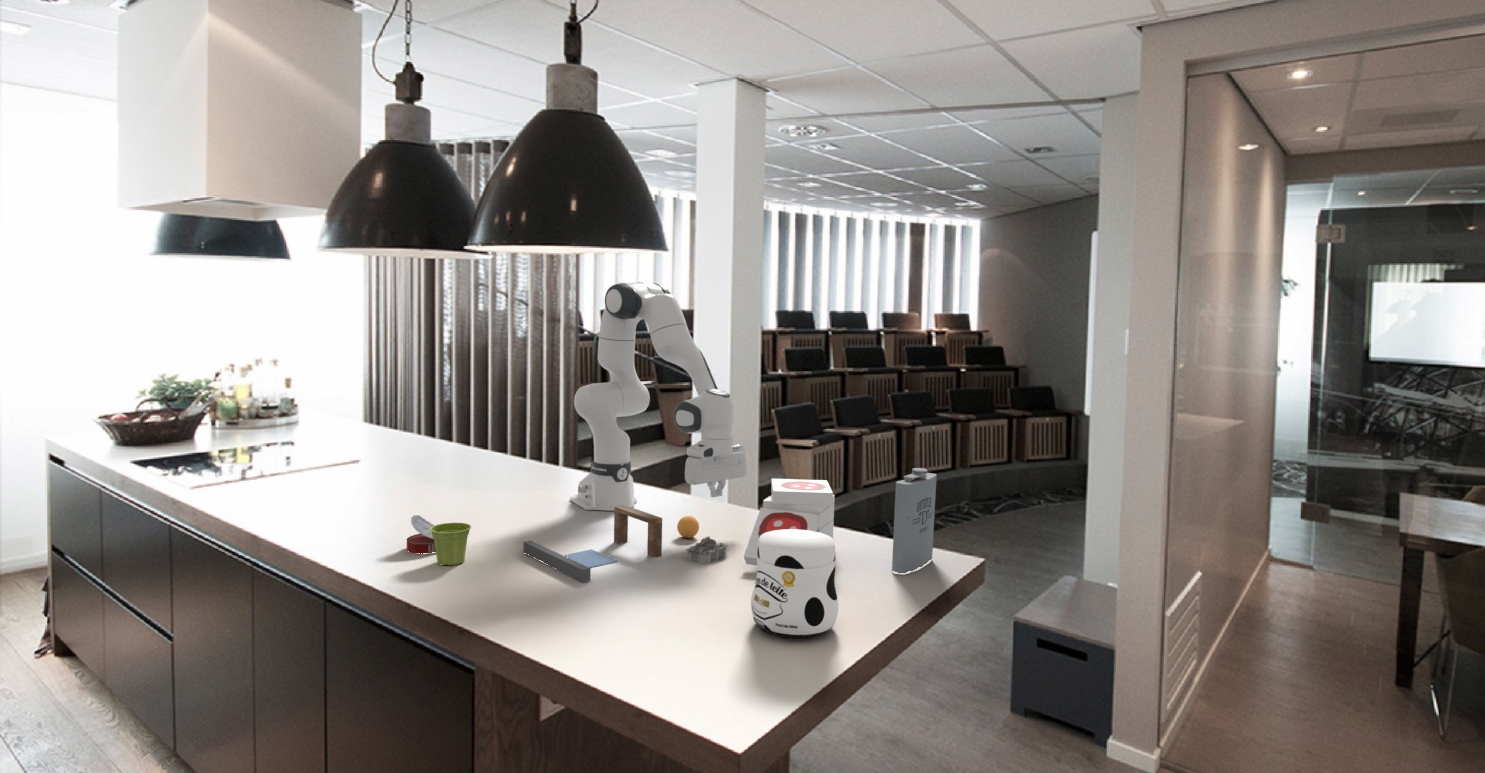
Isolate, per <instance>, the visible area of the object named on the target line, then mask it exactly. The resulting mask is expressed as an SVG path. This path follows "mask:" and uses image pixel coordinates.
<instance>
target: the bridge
mask: <svg viewBox="0 0 1485 773" xmlns="http://www.w3.org/2000/svg"><path fill="white" fill-rule="evenodd" d="M613 511H614V512H613V523H614V524H613V527H614V528H613V542H614V543H616V544H624V543H628V540H629V538H628V536H629V533H628V532H629V530H628V529H629V528H628V527H629V517H630V518H633V519H636V520H637V521H642V522H645V523H647V544H646V546H647V552H646V554H647V555H646V556H647V557H649V558H655V557H661V556H662V554H663V552H662V550H663V549H662V547H663V543H662V542H663V517H660V516H657V515H655V514H652V513H649V512H646V511H643V510H640V509H636V508H634V507H629V506H626V505H620V506H614V510H613Z"/></svg>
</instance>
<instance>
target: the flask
mask: <svg viewBox="0 0 1485 773" xmlns="http://www.w3.org/2000/svg"><path fill="white" fill-rule="evenodd" d="M911 471H912V472H911V473H910V474H907V475H903V478H904V479H902V480H898V481H895V494H894V496H895V498H894V519H893V539H892V560H891V561H892V562H891V572H892V571H895V572H898V573H906V572H908V571H913V570H915V569H917V568H918V567H922V566H923V565H924V564H926V563H927V562H928V561H929V560H931V559H932V560H933V549H934V548H933V546H934V533H935V531H934V528H935V527H934V526H935V511H936V510H935V507H936V495H937V494H936V493H937V491H936V490H937V475H938V474H936V473H934V472H933V473H931V472H928V469H927V468H923V467H922V468H921V467H915V468H914V467H913V468H912V470H911Z"/></svg>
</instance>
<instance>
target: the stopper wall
mask: <svg viewBox="0 0 1485 773" xmlns="http://www.w3.org/2000/svg"><path fill="white" fill-rule="evenodd" d="M522 546H523V549H522V550H523V552H524V553H526V554H529V555H530V556H532V557H535V558H536V559H538V560H541V561H543V562H544V563H546V564H548V565H550V566H551V567H550V566H549V567H550V568H552V567H554V568H556V569H557V570H556V569H555V570H556V571H558V570H559V571H558V572H560V571H561V572H560V573H562V572H563V574H565V575H566V574H567V575H566V576H569V577H570V578H572V577H573V578H572V579H575V580H576V581H578V582H581V583H582V584H583V583H588V582H591V569H592V568H589V567H587V566H585V565H582V564H580V563H578V562H576V561H574V560H572V559H570V558H567V557H565V556H563V555H564V554H561V553H558V552H557V551H556V550H555V551H554V550H552V549H550V548H547V546H544V545H542V544H539V543H537V542H535V541H533V540H531V539H530V540H525V541H523V545H522ZM523 552H522V553H523ZM524 553H523V554H524ZM526 554H525V555H526ZM530 556H529V557H530ZM532 557H531V558H532ZM536 559H535V560H536ZM538 560H537V561H538ZM544 563H543V564H544ZM546 564H545V565H546ZM548 565H547V566H548ZM554 568H553V569H554Z"/></svg>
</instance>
